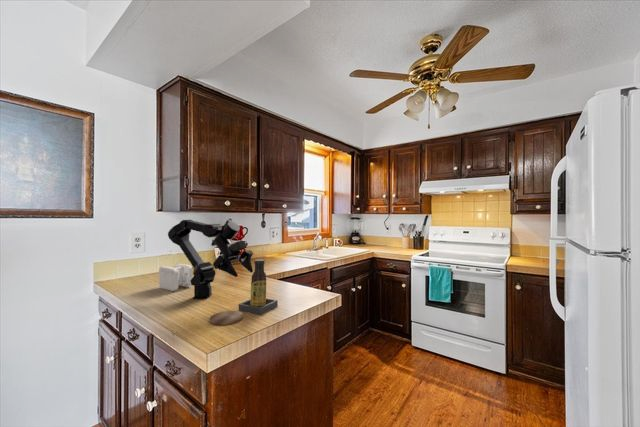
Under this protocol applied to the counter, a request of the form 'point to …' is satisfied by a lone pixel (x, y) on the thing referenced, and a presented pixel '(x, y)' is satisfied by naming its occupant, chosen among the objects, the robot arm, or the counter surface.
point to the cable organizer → (175, 276)
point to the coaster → (226, 317)
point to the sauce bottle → (258, 285)
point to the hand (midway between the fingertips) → (244, 274)
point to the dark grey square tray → (256, 310)
